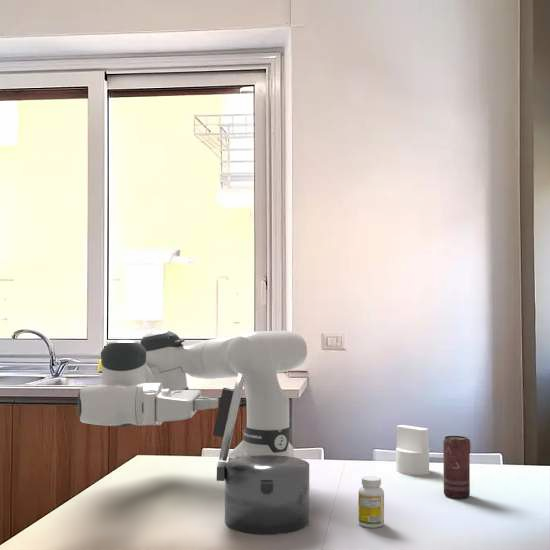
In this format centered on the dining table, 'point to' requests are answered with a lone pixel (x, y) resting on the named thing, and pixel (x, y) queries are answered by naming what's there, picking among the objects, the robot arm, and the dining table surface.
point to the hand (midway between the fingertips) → (218, 403)
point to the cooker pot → (265, 493)
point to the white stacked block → (412, 450)
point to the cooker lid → (228, 415)
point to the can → (456, 467)
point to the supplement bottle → (371, 502)
